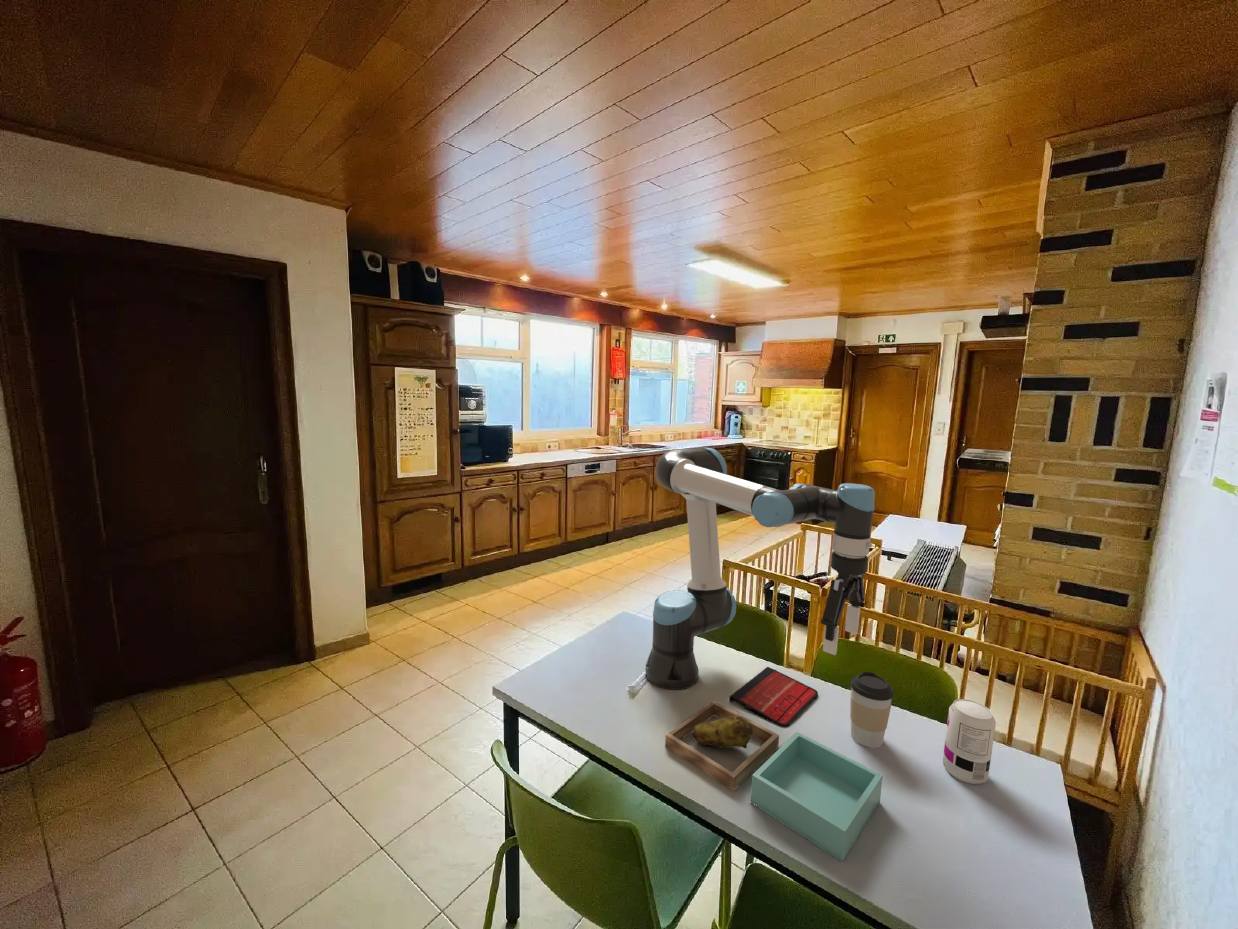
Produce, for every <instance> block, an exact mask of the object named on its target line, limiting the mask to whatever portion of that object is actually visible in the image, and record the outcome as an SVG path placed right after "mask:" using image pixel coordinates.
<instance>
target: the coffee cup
mask: <svg viewBox="0 0 1238 929" xmlns="http://www.w3.org/2000/svg"><path fill="white" fill-rule="evenodd" d="M850 689H851V691H850V710H849V711H850V715H849V716H850V718H849V719H850V736H851V738H852V739H853V740H854V741H855V742H856V743H857V744H860V745H861V746H864V747H868V748H880V747H881V746H882V745H883V744H884V739H885V734H886V730H887V727H888V723H889V718H890V712H891V708H892V699H893V697H894V688H893V687H892V686H891V684H889V682H888V681H887V680H886V679H885V678H883V677H881V676H879V675H877V674H876V673H874V672H871V671H863V672H861V673H859V674H857V675H856V676H853V677H852V678H851V681H850Z"/></svg>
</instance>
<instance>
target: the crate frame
mask: <svg viewBox="0 0 1238 929" xmlns="http://www.w3.org/2000/svg"><path fill="white" fill-rule="evenodd" d="M713 716H715V717H717V718H719V719H721V718H724V717H729V716H740V717H742V718H744V719H745V720H747V721H748V722H749V724H750V725H751V726H752V729H753V734H752V737H754V738H755V739H757V740H759V741H761V742H763V744H762V745H761V746H760V747H758V748H757V749H756V750H755V751H754V752H753V753H752V754H751V755H750V756H749V757H748V758H746V760H744V762H742V763H741V764H740V765H739V766H738V767H736V769H735V770H733V771H730V770H729V769H727V768H725V767H724V766H722V765H721V764H720V763H718V762H716V761H714V760H713V759H712V758H710V757H709V756H706V755H704V754H703V753H702V752H700V751H698V750H697V749H695V748H694V747H692V746H691V745H689V744H687V743H686V742H684V741H682V739H684V738H685V737H687V736H688V735H689V734H690V733H693V729H694V726H696V725H697V724H700V723H703V722H708V721H709V719H711V718H712V717H713ZM779 740H780V734H778V733H776V732H774V731H772V730H770V729H768V728H767V727H765V726H763V725H761V724H759V723H757V722H755V721H754V720H752V719H750V718H748V717H746V716H744V715H742V714H740V713H738V712H736V711H734V710H732V709H730V708H729V707H727V706H724V705H723V704H721V703H719V702H717V701H716V700H712V701H711V702H709V703H708V704H707V705H705V706H703V707H702V708H701V709H699V710H698V711H697V712H696V713H694V714H693V715H691V716H690V717H688V718H686V719H685V720H684V721H683V722H681V723H680V724H678V725H677V726H676V727H674V728H673V729H671V730H670V731H669V732H667V733H666V734H665V740H664V741H665V743H664V746H665V748H667V749H668V750H670V751H671V752H673V753H674V754H676V755H677V756H679V757H680V758H681V759H683V760H685V761H686V762H687V763H690V764H691V765H692V766H694V767H695V768H697V769H699V770H700V771H701V772H703V773H705V774H706V775H708V776H709V777H711V778H712V779H713V780H716V781H717V782H718V783H720V784H722V786H725V787H726V788H727V789H729V790H731V791H732V790H734V789H735V788H736V787H737V788H738V787H739V786H740V785H741V784H742V783H743V782H744V781H745V780H746V779H747V778H749V776H750V775H752V773H753V772H755V770H756V769H757V768H759V767H760V766H761V764H762V763H764V761H765V760H767V759H769V758H770V757H771V756H772V755H773V754H774V753H775V751H777V750H778V748H779V746H780V745H779V743H780V741H779ZM738 785H739V786H738ZM737 788H736V789H737ZM734 791H735V790H734Z"/></svg>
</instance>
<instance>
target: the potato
mask: <svg viewBox="0 0 1238 929" xmlns="http://www.w3.org/2000/svg"><path fill="white" fill-rule="evenodd" d="M752 734H753V729H752V726H751V725H750V724H749V722H748V721H747V720H745V719H744V718H742V717H740V716H729V717H724V718H721V719H720V718H719V719H716V720H712V721H711V720H710V721H709V720H707V721H705V722H703V723H700V724H697V725H696V726H694V729H693V731H692V738H693V740H694V741H695V742H697V743H698V744H700V745H702V746H703V745H704V746H706V745H709V746H711V747H716V748H723V749H724V748H735V747H738V748H739V747H740V748H743V749H747V748H748V744H749V743H750V740H751V739H752V737H753V736H752Z"/></svg>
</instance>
